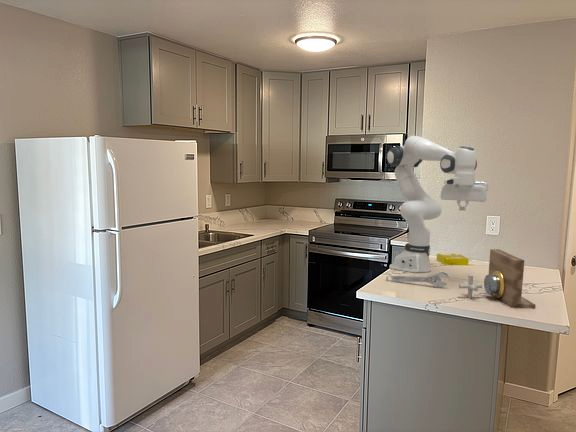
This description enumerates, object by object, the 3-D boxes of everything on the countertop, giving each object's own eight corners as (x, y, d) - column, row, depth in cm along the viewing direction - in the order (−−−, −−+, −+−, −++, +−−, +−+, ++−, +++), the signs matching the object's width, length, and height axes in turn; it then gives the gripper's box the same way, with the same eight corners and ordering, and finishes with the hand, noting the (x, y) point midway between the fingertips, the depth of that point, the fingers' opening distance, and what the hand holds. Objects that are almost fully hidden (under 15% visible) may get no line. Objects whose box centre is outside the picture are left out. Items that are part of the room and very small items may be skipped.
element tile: (444, 265, 261) (445, 257, 260) (435, 260, 276) (435, 252, 275) (469, 266, 261) (470, 258, 261) (458, 260, 276) (459, 253, 276)
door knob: (492, 301, 188) (494, 274, 187) (481, 293, 200) (483, 267, 199) (504, 301, 188) (506, 274, 187) (492, 293, 200) (494, 267, 199)
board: (510, 307, 182) (514, 260, 180) (487, 291, 206) (490, 249, 204) (535, 308, 182) (539, 260, 180) (508, 291, 206) (512, 249, 203)
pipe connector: (453, 294, 199) (454, 273, 199) (474, 294, 200) (475, 272, 199) (464, 300, 190) (465, 278, 189) (486, 300, 190) (487, 277, 190)
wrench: (387, 286, 222) (450, 287, 208) (386, 286, 220) (449, 288, 207) (386, 270, 222) (449, 271, 208) (385, 271, 220) (448, 271, 206)
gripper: (488, 181, 205) (486, 211, 207) (443, 180, 215) (441, 208, 216) (488, 182, 200) (485, 212, 201) (441, 180, 209) (439, 209, 211)
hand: (462, 210), depth 209 cm, fingers closed
